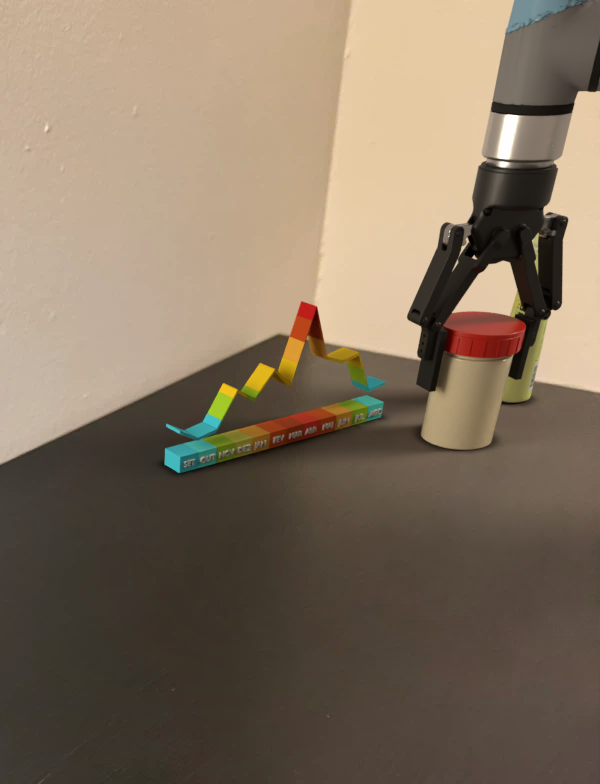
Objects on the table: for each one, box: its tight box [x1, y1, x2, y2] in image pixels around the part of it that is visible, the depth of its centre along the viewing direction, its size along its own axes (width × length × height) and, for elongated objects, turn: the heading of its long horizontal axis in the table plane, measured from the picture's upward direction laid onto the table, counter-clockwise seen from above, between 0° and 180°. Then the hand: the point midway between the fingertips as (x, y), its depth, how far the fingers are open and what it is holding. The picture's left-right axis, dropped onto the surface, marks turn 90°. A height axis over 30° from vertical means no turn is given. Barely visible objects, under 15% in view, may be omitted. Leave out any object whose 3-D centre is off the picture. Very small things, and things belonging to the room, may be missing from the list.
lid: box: [442, 310, 526, 358], centre depth 109 cm, size 9×9×2 cm
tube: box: [502, 234, 549, 404], centre depth 120 cm, size 6×5×20 cm
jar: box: [420, 351, 514, 451], centre depth 112 cm, size 8×8×12 cm
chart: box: [164, 301, 386, 474], centre depth 112 cm, size 30×3×15 cm, turn 120°
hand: (468, 381), depth 112 cm, fingers open, 10 cm apart
